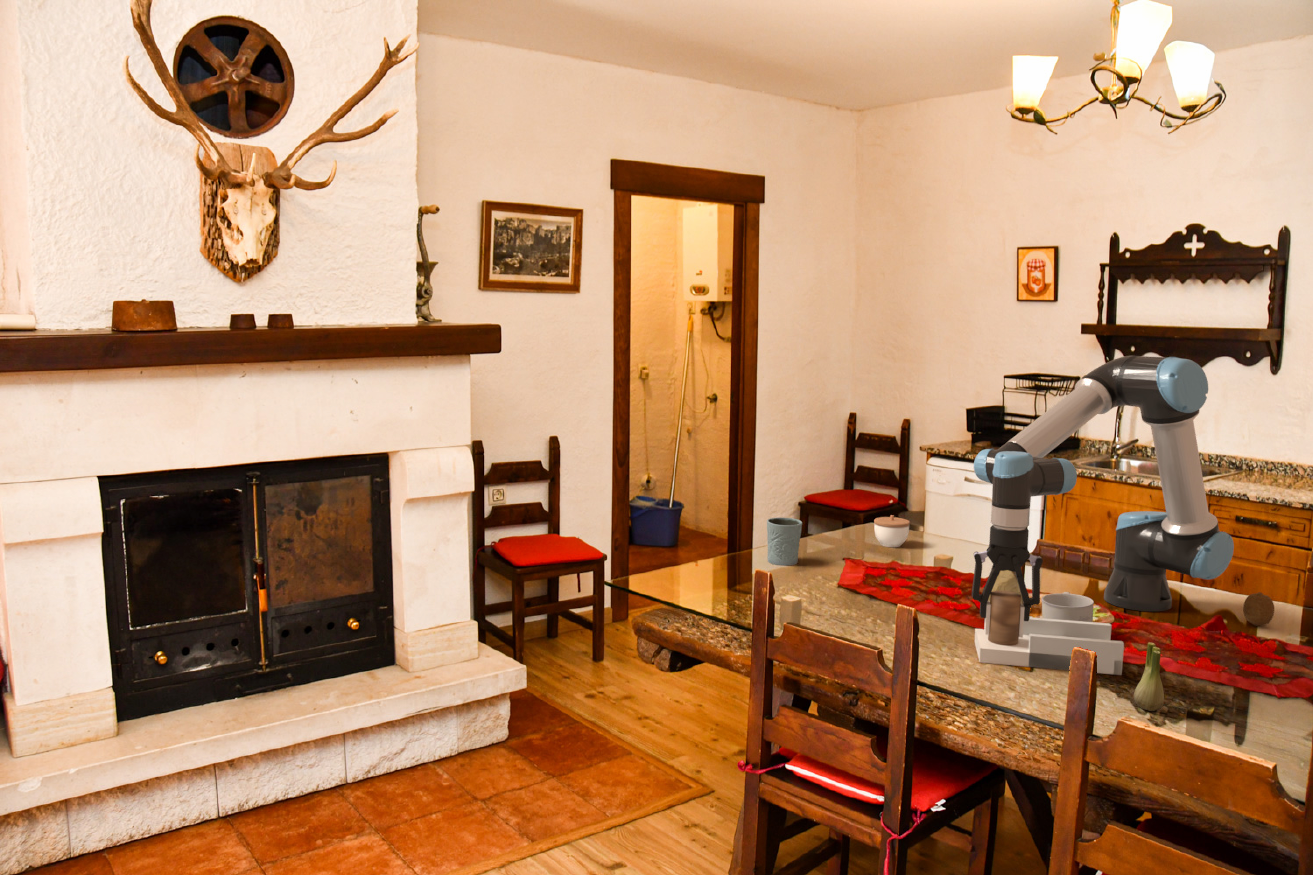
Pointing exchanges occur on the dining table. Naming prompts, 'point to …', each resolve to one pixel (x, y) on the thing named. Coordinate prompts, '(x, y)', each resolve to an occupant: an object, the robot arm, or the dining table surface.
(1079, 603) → the teacup
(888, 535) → the lidded jar
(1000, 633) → the brown cylinder
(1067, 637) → the channel
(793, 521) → the embossed blue-grey cup
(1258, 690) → the dining table surface
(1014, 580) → the rock
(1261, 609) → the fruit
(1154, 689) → the fennel bulb
